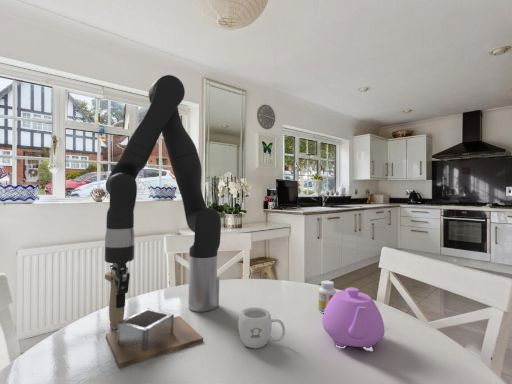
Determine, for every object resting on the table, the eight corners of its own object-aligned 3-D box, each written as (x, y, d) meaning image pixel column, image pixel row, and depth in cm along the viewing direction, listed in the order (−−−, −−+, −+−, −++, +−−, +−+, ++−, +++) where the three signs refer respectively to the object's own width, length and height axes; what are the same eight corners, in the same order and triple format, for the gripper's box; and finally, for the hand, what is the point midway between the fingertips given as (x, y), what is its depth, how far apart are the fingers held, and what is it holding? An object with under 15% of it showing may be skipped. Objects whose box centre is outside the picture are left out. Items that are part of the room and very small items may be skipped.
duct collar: (147, 326, 81) (147, 308, 81) (173, 333, 78) (173, 314, 78) (117, 343, 72) (117, 322, 72) (144, 351, 69) (145, 330, 69)
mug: (236, 351, 71) (236, 319, 71) (239, 334, 80) (240, 305, 80) (285, 353, 71) (286, 321, 71) (284, 336, 79) (284, 307, 79)
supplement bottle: (335, 309, 98) (336, 280, 98) (335, 316, 93) (336, 285, 93) (318, 307, 100) (319, 279, 100) (318, 314, 94) (318, 283, 94)
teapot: (398, 371, 65) (399, 308, 65) (325, 363, 67) (326, 303, 67) (373, 326, 86) (374, 279, 86) (319, 321, 89) (320, 276, 89)
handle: (122, 331, 80) (123, 276, 80) (100, 330, 81) (101, 275, 81) (131, 324, 85) (132, 271, 85) (111, 322, 85) (112, 270, 86)
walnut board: (179, 319, 88) (179, 315, 88) (203, 341, 76) (203, 337, 76) (105, 337, 77) (105, 333, 77) (118, 368, 64) (118, 363, 64)
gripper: (140, 246, 79) (139, 310, 79) (128, 239, 91) (127, 294, 91) (110, 249, 75) (108, 316, 75) (100, 241, 87) (99, 299, 87)
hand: (118, 304), depth 83 cm, fingers closed on handle, 4 cm apart
